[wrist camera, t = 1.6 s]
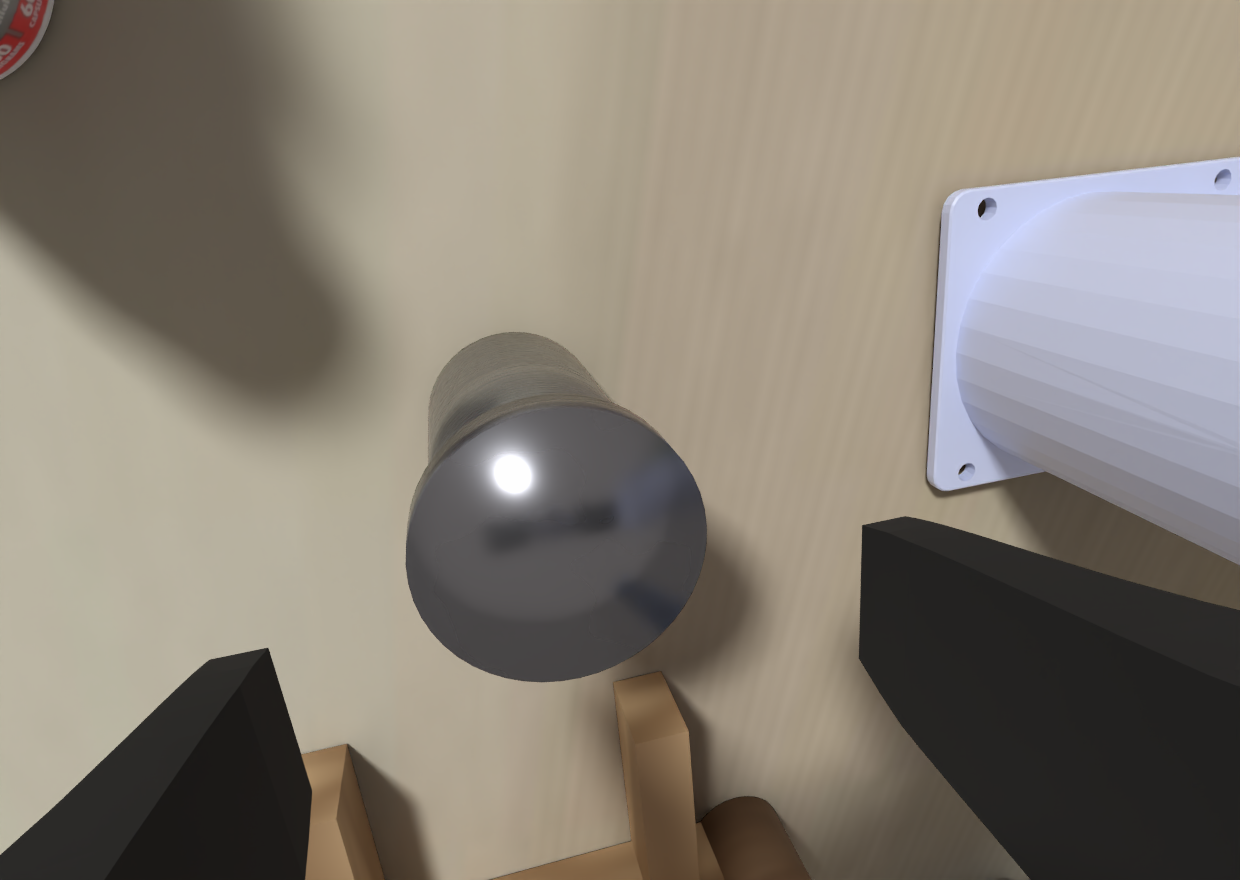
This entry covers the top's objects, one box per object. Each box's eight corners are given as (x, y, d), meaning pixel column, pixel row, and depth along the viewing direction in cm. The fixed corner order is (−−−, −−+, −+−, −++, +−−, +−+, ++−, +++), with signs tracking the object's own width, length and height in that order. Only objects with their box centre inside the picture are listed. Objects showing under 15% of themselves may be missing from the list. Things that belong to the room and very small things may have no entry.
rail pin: (599, 306, 18) (698, 386, 11) (617, 486, 19) (713, 647, 13) (397, 333, 17) (376, 437, 10) (434, 519, 18) (436, 710, 12)
